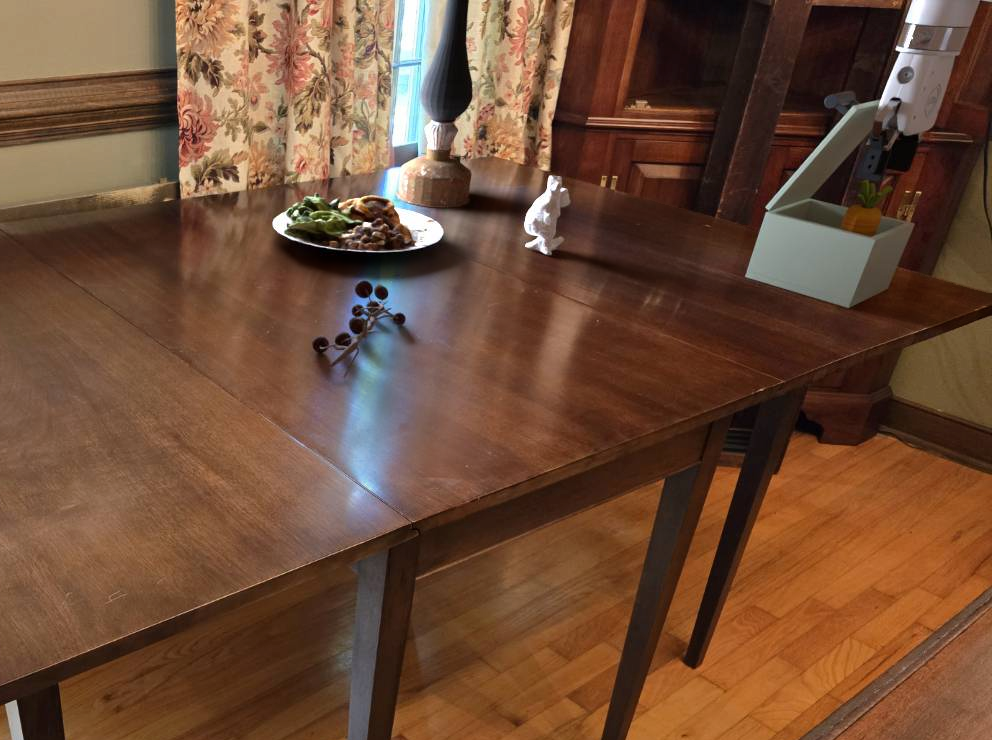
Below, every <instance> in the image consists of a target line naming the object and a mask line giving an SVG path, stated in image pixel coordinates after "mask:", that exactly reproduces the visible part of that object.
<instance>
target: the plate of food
mask: <svg viewBox="0 0 992 740" xmlns="http://www.w3.org/2000/svg"><path fill="white" fill-rule="evenodd" d="M340 201H341V198H340V197H338V198H336V199H332V201H330V202H327V201H326V199H325V198H323V197H321V196H320V194H319V193H318V192H315V193H314V196H304V198H303V200H302V202H300V201H299V202H295V203H293V205H292V207H289V208H288V209H287V210H286V211H284V212H281V213H280V214H279V215H277V216H276V217H275V218H273V221H272V227H273V229H274V230H275V231H276V232H277V233H278V234H279V235H282V236H284V237H286V238H287V239H290V240H292V241H294V242H298V243H302V244H304V245H305V244H306V245H311V246H314V247H317V248H326V249H327V250H329V251H331V250H332V251H351V252H363V253H364V252H366V253H393V252H405V251H411V250H419V249H421V248H426V247H427V246H431V245H433V244H436V243H438V242H439V241H440V240H441V239H442V236H443V235H444V229H443V226H441V224H440V223H438V221H436V220H434V219H433V218H432V217H431V218H430V217H428V216H426V215H425V214H421V213H418V212H416V211H412V210H408V209H404V208H399V207H395V204H394V203H393V202H392V201H391V200H390V199H388V198H386V197H382V196H378V195H372V194H370V195H367V196H362V197H361V198H360V197H359V198H358V197H356V198H350V199H347V200H346V201H344V202H340Z"/></svg>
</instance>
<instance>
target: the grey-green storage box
mask: <svg viewBox="0 0 992 740" xmlns="http://www.w3.org/2000/svg"><path fill="white" fill-rule="evenodd" d="M848 208H849V207H847V206H842V205H838V204H834V203H830V202H826V201H822V200H818V199H814V198H811V197H809V198H806V199H803V200H800V201H797V202H793V203H790V204H787V205H784V206H781V207H778V208H775V209H772V210H768V211H765V214H764V217H763V221H762V224H761V227H760V229H759V231H758V236H757V238H756V241H755V245H754V248H753V251H752V254H751V257H750V260H749V263H748V266H747V269H746V274H745V276H744V277H745V278H747V279H750V280H754V281H757V282H759V283H764V284H767V285H770V286H773V287H776V288H780V289H783V290H787V291H790V292H793V293H797V294H799V295H803V296H807V297H809V298H813V299H817V300H820V301H823V302H827V303H829V304H834V305H836V306H839V307H842V308H846V309H850V308H852V307H854V306H856V305H858V304H860V303H861V302H862V303H863V302H864V301H866V300H869V299H870V298H873V297H874V296H876V295H878V294H881V293H882V292H884V291H887V290H888V289H889V287H890V285H891V282H892V280H893V278H894V276H895V273H896V271H897V268H898V265H899V263H900V261H901V258H902V256H903V253H904V251H905V249H906V246H907V244H908V242H909V239H910V236H911V235H912V232H913V229H914V227H915V225H916V224H915V223H914V222H910V221H907V220H902V219H897V218H893V217H889V216H885V215H882V217H881V221H880V224H879V226H878V228H877V231H876V233H875V235H874V236H873V237H869V236H865V235H861V234H857V233H853V232H849V231H845V230H841V229H840V228H841V225H842V222H843V219H844V216H845V213H846V211H847V209H848Z"/></svg>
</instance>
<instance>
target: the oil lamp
mask: <svg viewBox="0 0 992 740" xmlns="http://www.w3.org/2000/svg"><path fill="white" fill-rule="evenodd" d="M469 4H470V0H446V7H445V13H444V19H443V23H442V28H441V33H440V37H439V41H438V44H437V46H436V49H435V52H434V54H433V57H432V60H431V62H430V65H429V67H428V68H427V71H426V72H425V75H424V77H423V80H422V82H421V86H420V89H419V95H418V96H419V101H420V105H421V108H423V110H424V112H425V113H426V114H427V115H428V117H429V119H430V122H429V123H428V124H427V125H425V127H424V131H425V135H426V139H427V142H428V143H427V146H426V152H422V151H421V152H420V154H421V155H420V156H417V157H415V158H413V159H411V160H409V161H408V162H407V161H406V162H405V163H404V164H403V165H401V167H400V174H399V184H398V190H397V191H396V197H397V198H398V199H399V200H401V201H403V202H405V203H408V204H411V205H415V206H420V207H425V208H426V207H427V208H437V209H438V208H439V209H440V208H441V209H443V208H446V209H447V208H457V207H461V206H464V205H467V204H468V203H469V201H470V196H469V194H470V187H471V183H472V182H471V181H472V171H471V169H470V168H468V166H466V165H464V164H463V163H462V162H461V161H462V158H463V159H465V162H468V160H469V159H468V157H469V152H466V154H465V155H461V154H459V153H451V151H452V144H453V142H454V140H455V138H456V136H457V134H458V132H459V128H458V127H457V126H456V124H455V123H454V122H456V121H457V119H458V118H459V117H460V116H462V115H463V114H464V113H465V112H466V111H467V110H468V108H469V107H470V105H471V103H472V101H473V97H474V95H473V94H474V92H473V89H474V88H473V78H472V75H471V70H470V63H469V57H468V56H469V55H468V47H467V35H468V34H467V32H468V16H469V14H468V13H469Z"/></svg>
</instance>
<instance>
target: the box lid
mask: <svg viewBox="0 0 992 740" xmlns="http://www.w3.org/2000/svg"><path fill="white" fill-rule="evenodd" d="M856 98H857V97H856V93H855V92H854V91H853V90H847V91H842V92H837V93H833V94H832V93H831V94H829V95H828V96H826V97H825V99H824V103H823V104H824V107H826V108H827V109H835V110H837V111H838V112H839V113H840V114H841V115H843V117H842V118H841V119H840V120H839V122H838V123H836V125H835V126H834V127H833V128H832V129H831V130H830V132H829V133H828V134H827V135H826V137H825V138H824V139H823V140H822V141H821V142H820V143H819V145H818V146H817V147H816V148H815V149H814V151H812V153H810V155H809V156H808V157H807V158H806V160H805V161H804V162H803V163H802V164H801V165H800V166H799V168H798V169H797V170H796V171H795V172H794V173H793V174H792V176H791V177H790V178H789V179H788V181H786V182H785V184H784V185H783V186H782V187H781V188H780V190H779V191H778V192H777V193H776V194H775V195H774V196H773V197H772V199H771V200H770V201H769V202H768V203H767V204H766V206H765V209H766V210H768V211H772V210H775V209H778V208H781V207H784V206H787V205H790V204H793V203H796V202H799V201H802V200H805V199H808V198H811V197H813V195H814V194H815V193H816V192H817V191H818V190H819V189H820V188H821V186H823V184H824V183H825V182H826V181H827V180H828V179H829V178H830V177H831V175H832V174H833V173H834V172H835V171H836V170H837V169H838V168H839V167H840V166H841V164H842V163H843V162H844V161H846V159H847V158H848V157H849V156H850V154H851V153H852V152H853V151H854V150H855V149H856V148H857V147H858V146H859V145H860V144H861V142H862V141H863V140H864V139H865V138H866V137H867V136H868V135H869V134H870V132H871V131H872V129H873V123H874V119H875V115H876V112H877V109H878V106H879V103H880V101H881V99H877V100H872V101H868V102H864V103H860V102H859V101H858V100H857V99H856ZM848 105H850V106H851V108H850V109H848V108H847V107H846V106H848Z"/></svg>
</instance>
